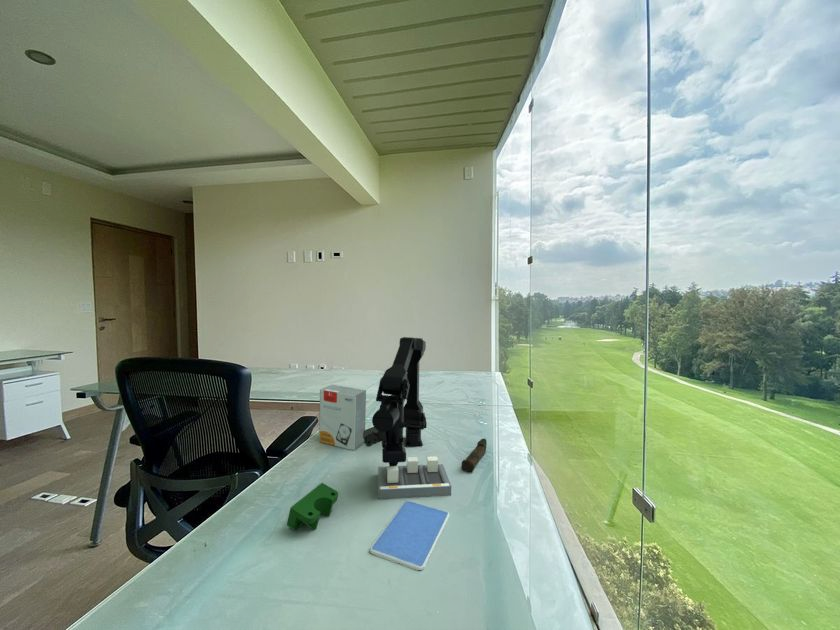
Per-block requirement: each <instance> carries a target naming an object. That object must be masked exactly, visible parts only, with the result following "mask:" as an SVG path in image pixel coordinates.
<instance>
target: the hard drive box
mask: <svg viewBox="0 0 840 630" xmlns="http://www.w3.org/2000/svg"><path fill="white" fill-rule="evenodd" d="M366 405H367V390H365V389H361V388H356V387H355V388H354V387H348V386H343V385H337V384H329V385H328V386H326V387H322V388H320V389H319V425H318V426H319V428H318V429H319V433H318V434H319V437H318V440H319V441H318V442H319V443H323V444H326V445H329V446H335V447H338V448H342V449H345V450H349V451H355V450H357V449H358V448H360V447H361V446H362V445H364V444H365V443H364V438H363V431H364V430H366V415H367V414H366V413H367V410H366V409H367V408H366Z"/></svg>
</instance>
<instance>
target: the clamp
mask: <svg viewBox="0 0 840 630" xmlns="http://www.w3.org/2000/svg"><path fill="white" fill-rule="evenodd" d="M338 498H339V492H338V491H337V490H336V489H333V488H332V487H330V486H329V485H327V484H326V483H324V482H321V483H320V484H318V485H317V486H316V487H314V488H313V489H312V490H310V491H309V492H308V493H307V494H306V495H305V496H303V497H302V498H301V499H299V500H298V501H297V502H296V503H294V504H293V505H291V507H290V508H289V514H288V516H287V517H288V518H287V520H286V526H287V527H288V528H290V529H291V530H293V531H296V529H297V528H298V529H299V528H300V527H301V526H302V525H303V524H304V525H306V526H307V527H309V528H310V529H312V530H314V531H316V530H317V528H318V525H319V522H320V521H319V520H320V517H321V514H322V515H325V516H327V517H328V518H329V517H330V516H331V514H332V509H333V505H335V504H336V502H338ZM298 529H297V530H298Z"/></svg>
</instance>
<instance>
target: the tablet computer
mask: <svg viewBox="0 0 840 630" xmlns="http://www.w3.org/2000/svg"><path fill="white" fill-rule="evenodd" d="M449 518H450V512H448V511H446V510H442V509H438V508H436V507H435V508H434V507H431V506H428V505H424V504H422V503H417V502H414V501H411V500H404V502H403V503H402V504H401V506H400V507H399V509H397V511H396V513H395V514H394V515H393V517H392V518H391V520H390V521H389V522H388V523H387V525H386V526H385V528H384V529H383V530H382V532H381V533H380V534H379V535H378V537H377V538H376V540H375V541H374V542H373V543H372V545H371V546H370V548H369V552H370V553H371V555H374V556H377V557H379V558H382V559H384V558H385V559H384V560H388V561H390V560H391V562H393V561H394V562H393V563H395V562H397V563H396V564H398V563H400V564H399V565H401V564H403V565H402V566H404V565H405V566H404V567H407V568H409V567H410V569H412V568H413V570H415V569H416V571H418V570H421V571H423V570H424V569H425V568H426V565H427V563H428V562H429V559H430V558H431V555H432V552H433V551H434V549H435V547H436V545H437V543H438V541H439V539H440V537H441V534H442V532H443V530H444V528H445V527H446V524H447V522H448V520H449Z"/></svg>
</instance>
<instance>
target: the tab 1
mask: <svg viewBox="0 0 840 630" xmlns="http://www.w3.org/2000/svg"><path fill="white" fill-rule="evenodd" d="M398 466H399V465H397V466H387V483H398V475H399V470H398Z"/></svg>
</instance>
